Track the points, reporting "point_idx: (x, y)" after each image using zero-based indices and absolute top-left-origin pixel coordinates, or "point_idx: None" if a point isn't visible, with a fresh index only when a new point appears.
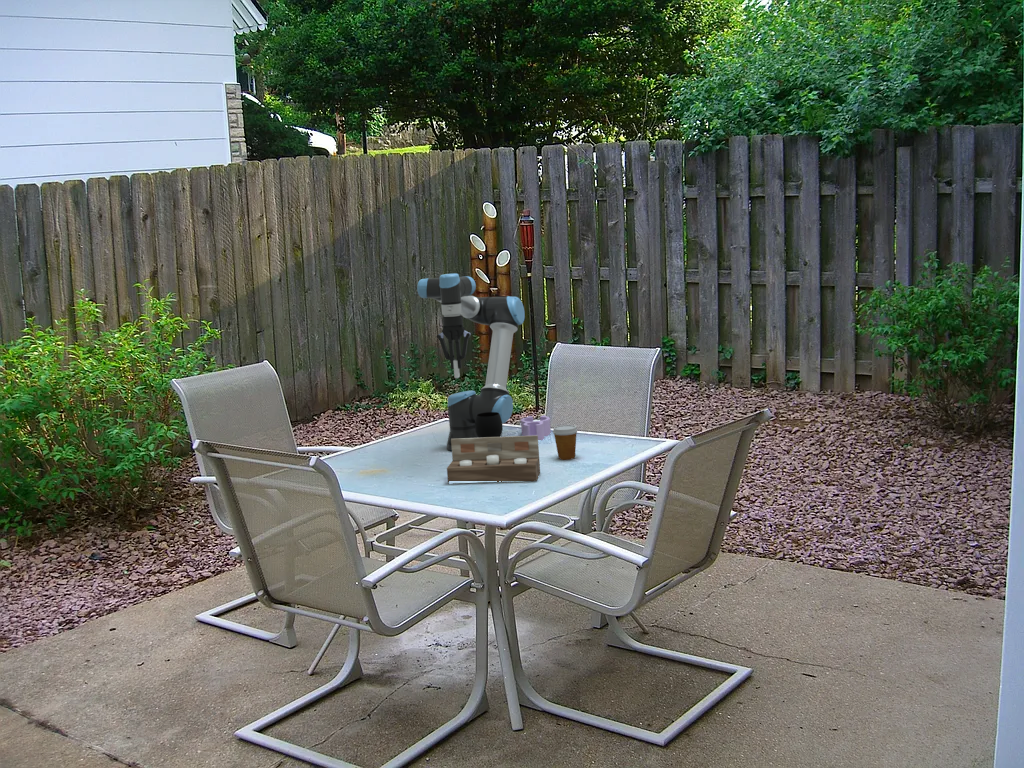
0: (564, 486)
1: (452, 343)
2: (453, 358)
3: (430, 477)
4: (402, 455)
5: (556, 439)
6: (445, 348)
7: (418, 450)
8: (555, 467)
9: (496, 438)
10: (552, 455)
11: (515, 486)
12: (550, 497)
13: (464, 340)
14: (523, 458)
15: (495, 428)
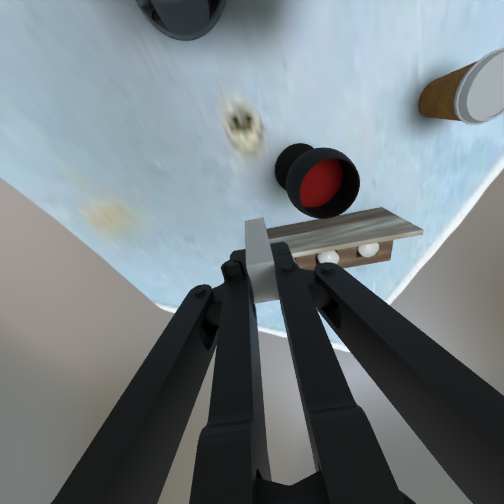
0: (411, 265)
1: (263, 432)
2: (255, 307)
3: (223, 241)
4: (68, 84)
5: (448, 113)
6: (195, 397)
7: (67, 18)
8: (407, 174)
9: (343, 247)
10: (408, 73)
11: (351, 270)
12: (392, 301)
13: (447, 464)
14: (374, 244)
15: (338, 203)
